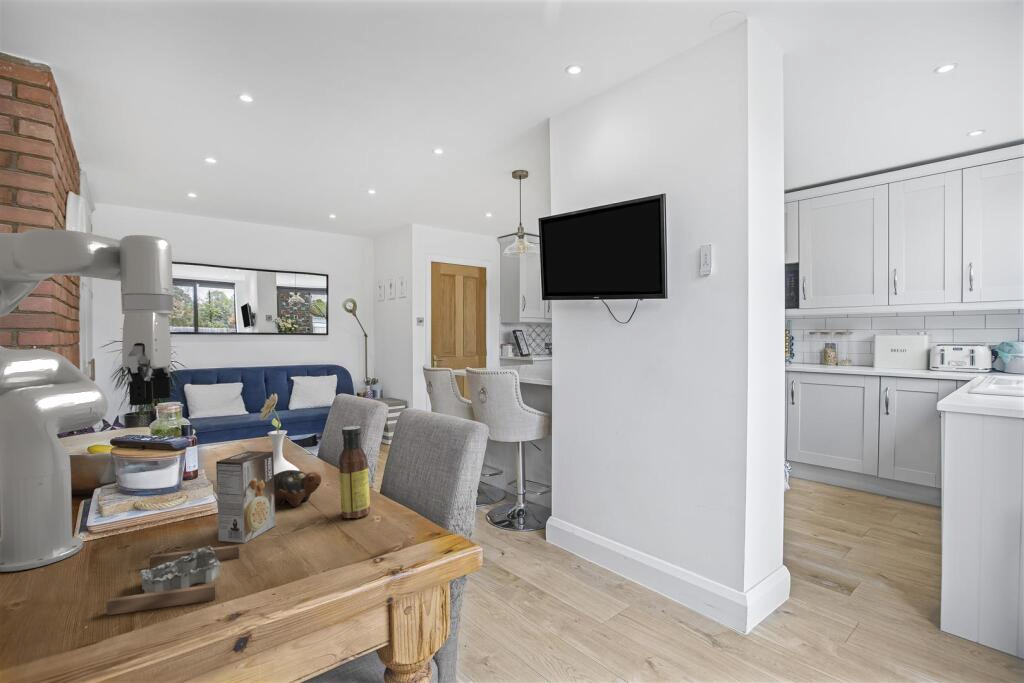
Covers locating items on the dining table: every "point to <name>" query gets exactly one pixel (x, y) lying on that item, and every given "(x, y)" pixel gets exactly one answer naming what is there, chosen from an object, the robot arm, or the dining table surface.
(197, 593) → the pair of wooden bars
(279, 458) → the flower in vase
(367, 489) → the sauce bottle
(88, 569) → the dining table surface
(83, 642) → the dining table surface
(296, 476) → the decorative turtle
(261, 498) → the coffee box
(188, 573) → the egg carton
